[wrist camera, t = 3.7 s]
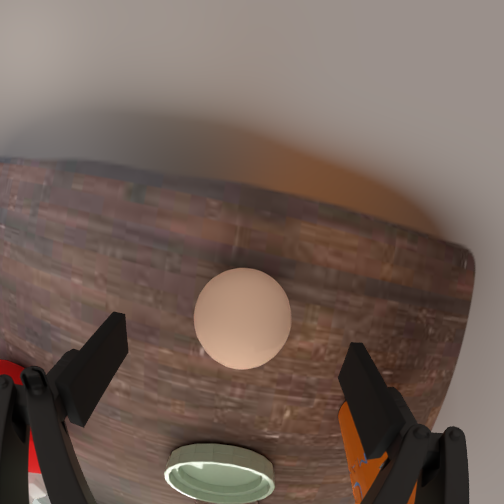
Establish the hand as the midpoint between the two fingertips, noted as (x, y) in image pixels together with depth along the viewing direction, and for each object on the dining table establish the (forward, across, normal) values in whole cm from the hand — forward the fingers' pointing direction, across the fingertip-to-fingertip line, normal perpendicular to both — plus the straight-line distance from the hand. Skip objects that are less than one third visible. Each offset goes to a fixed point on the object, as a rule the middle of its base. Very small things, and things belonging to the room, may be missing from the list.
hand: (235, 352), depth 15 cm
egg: (+8, 0, 0) cm, 8 cm away
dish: (+8, 0, -27) cm, 28 cm away
